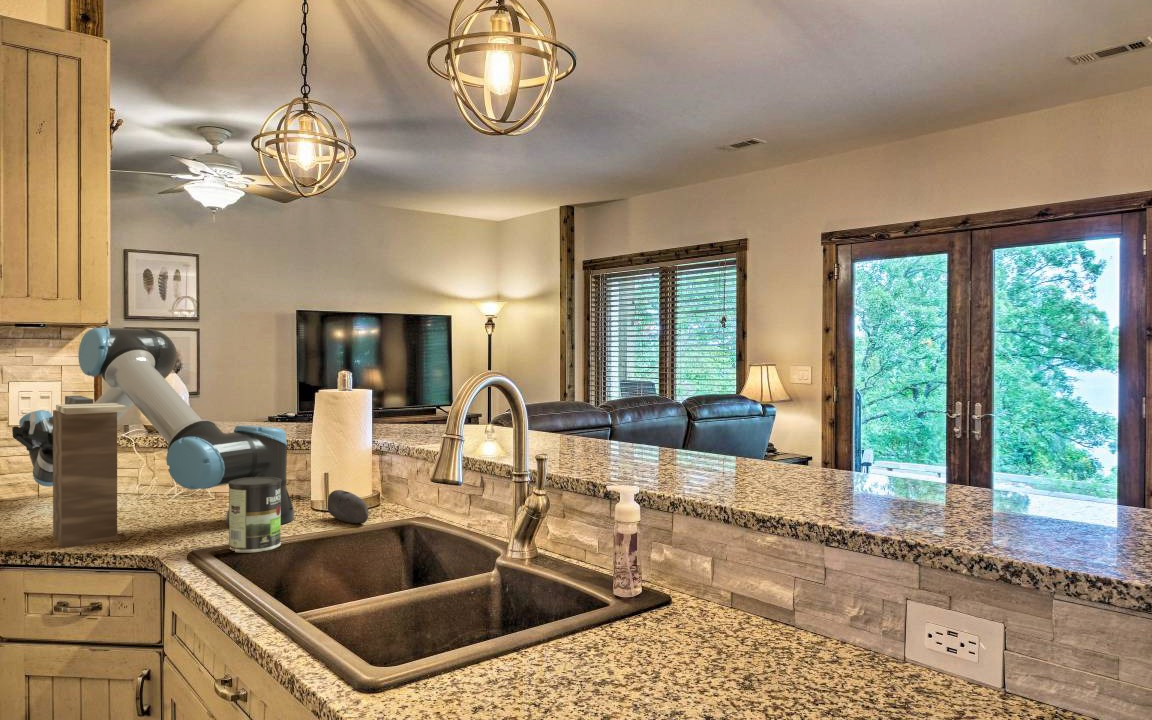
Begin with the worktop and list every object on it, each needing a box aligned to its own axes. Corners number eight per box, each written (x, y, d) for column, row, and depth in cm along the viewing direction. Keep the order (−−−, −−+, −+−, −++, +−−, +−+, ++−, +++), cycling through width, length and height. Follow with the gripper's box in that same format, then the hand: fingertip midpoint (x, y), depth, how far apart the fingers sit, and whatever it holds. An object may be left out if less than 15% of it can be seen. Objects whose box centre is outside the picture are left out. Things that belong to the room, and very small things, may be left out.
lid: (45, 405, 172) (45, 396, 172) (99, 403, 179) (99, 395, 179) (65, 414, 151) (65, 404, 151) (126, 411, 158) (126, 401, 158)
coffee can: (288, 540, 164) (289, 476, 164) (268, 553, 154) (268, 484, 154) (242, 540, 165) (242, 475, 164) (218, 553, 154) (219, 484, 154)
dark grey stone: (375, 525, 180) (376, 496, 180) (355, 529, 176) (355, 499, 176) (344, 515, 190) (344, 488, 190) (325, 518, 186) (325, 490, 186)
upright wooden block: (53, 537, 166) (52, 410, 165) (105, 530, 172) (105, 408, 172) (62, 548, 157) (61, 413, 156) (117, 540, 164) (117, 411, 163)
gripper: (115, 461, 199) (130, 426, 185) (-4, 470, 182) (3, 433, 168) (112, 435, 202) (127, 399, 188) (-6, 442, 185) (1, 403, 171)
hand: (68, 415), depth 178 cm, fingers open, 13 cm apart
